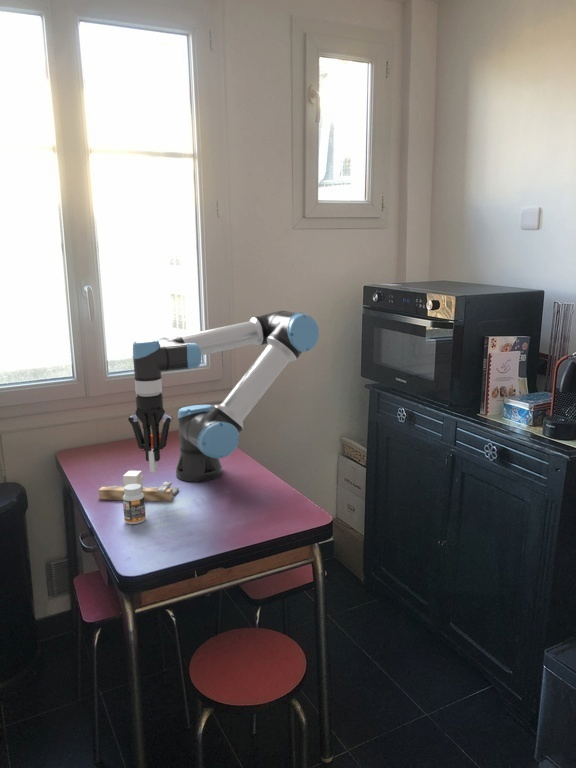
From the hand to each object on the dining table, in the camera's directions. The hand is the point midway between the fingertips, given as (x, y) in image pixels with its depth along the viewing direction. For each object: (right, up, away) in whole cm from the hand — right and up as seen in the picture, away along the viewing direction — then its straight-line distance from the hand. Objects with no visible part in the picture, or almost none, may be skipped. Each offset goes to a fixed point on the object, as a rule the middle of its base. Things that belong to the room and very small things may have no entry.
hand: (153, 471), depth 184 cm
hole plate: (-5, -8, +8) cm, 12 cm away
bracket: (-11, +2, +53) cm, 54 cm away
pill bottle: (-2, -12, -12) cm, 17 cm away
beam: (-6, -9, +3) cm, 11 cm away
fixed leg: (+3, -7, +3) cm, 8 cm away
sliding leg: (-6, -8, +4) cm, 11 cm away
